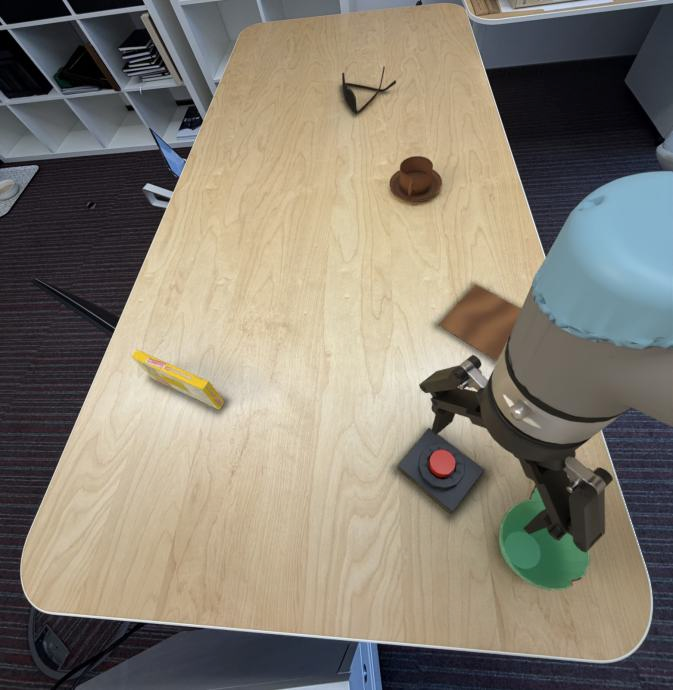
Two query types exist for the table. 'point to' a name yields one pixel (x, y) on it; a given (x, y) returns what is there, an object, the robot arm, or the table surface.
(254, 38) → the table surface
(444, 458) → the stop button
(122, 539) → the table surface
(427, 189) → the cup and saucer
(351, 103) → the sunglasses
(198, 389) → the candy box
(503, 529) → the mug
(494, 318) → the brown pad
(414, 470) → the control block
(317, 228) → the table surface
